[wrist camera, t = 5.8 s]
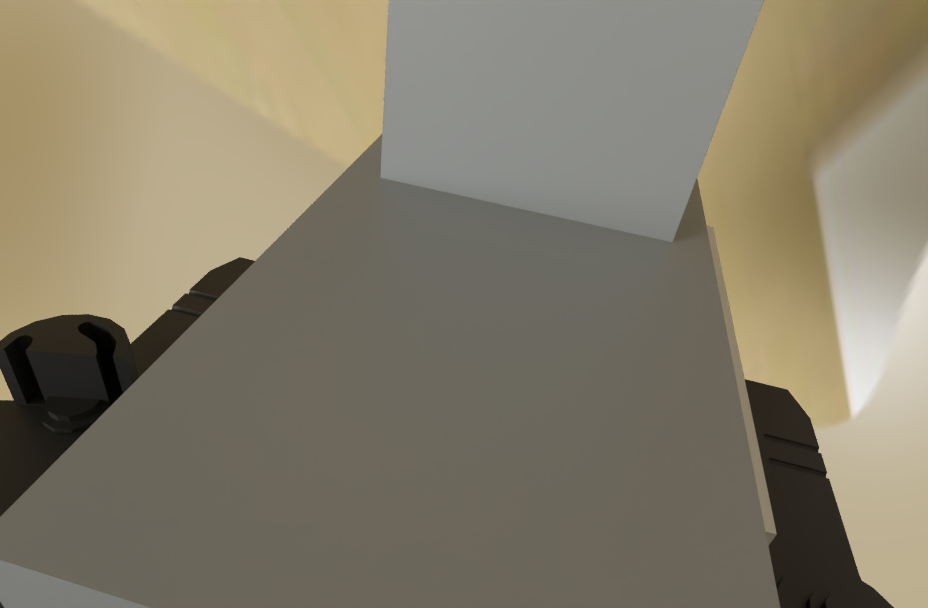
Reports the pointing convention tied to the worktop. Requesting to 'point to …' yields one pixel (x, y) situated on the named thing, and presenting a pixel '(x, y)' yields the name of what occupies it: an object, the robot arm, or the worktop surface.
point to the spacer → (451, 355)
